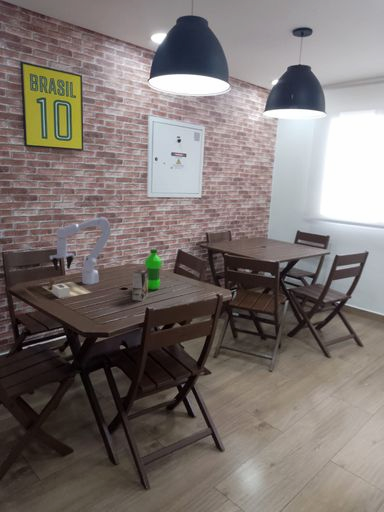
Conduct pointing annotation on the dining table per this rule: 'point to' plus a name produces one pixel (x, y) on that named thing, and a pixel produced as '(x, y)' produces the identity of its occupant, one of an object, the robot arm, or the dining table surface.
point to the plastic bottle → (153, 269)
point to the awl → (51, 283)
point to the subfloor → (72, 289)
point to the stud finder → (61, 290)
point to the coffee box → (140, 284)
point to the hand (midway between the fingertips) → (62, 269)
